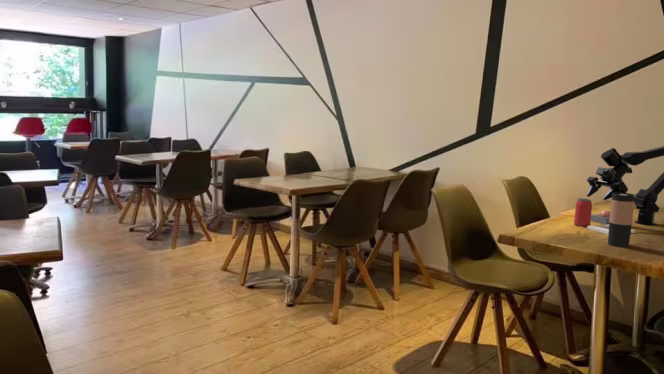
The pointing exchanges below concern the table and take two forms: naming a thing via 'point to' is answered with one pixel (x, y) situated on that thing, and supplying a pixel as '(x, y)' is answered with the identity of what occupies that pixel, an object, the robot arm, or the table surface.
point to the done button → (605, 213)
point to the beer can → (583, 212)
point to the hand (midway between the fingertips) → (595, 197)
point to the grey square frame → (600, 219)
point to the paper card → (602, 228)
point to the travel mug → (621, 219)
